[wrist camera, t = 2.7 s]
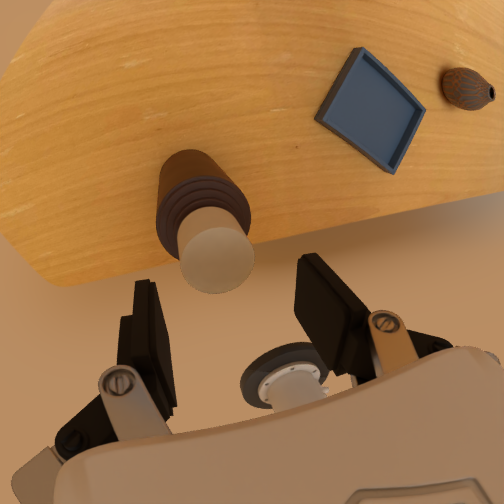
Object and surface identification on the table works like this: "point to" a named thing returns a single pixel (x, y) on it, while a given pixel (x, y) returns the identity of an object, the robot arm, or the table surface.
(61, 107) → the table surface
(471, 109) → the vase
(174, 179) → the bottle
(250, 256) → the cap
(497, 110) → the table surface
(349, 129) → the tray
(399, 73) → the table surface
